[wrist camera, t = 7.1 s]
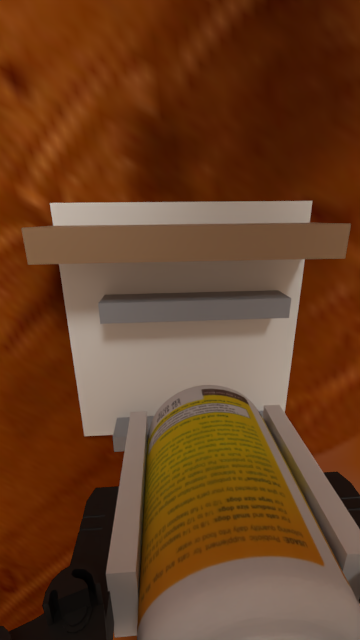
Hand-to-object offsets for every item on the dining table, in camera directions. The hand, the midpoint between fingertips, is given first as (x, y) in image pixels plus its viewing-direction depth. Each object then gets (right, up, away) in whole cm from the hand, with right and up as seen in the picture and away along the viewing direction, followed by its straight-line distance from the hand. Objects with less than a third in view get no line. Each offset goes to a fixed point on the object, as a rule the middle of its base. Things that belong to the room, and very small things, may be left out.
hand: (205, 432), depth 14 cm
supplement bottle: (0, 0, +1) cm, 1 cm away
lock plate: (-1, +5, +6) cm, 8 cm away
